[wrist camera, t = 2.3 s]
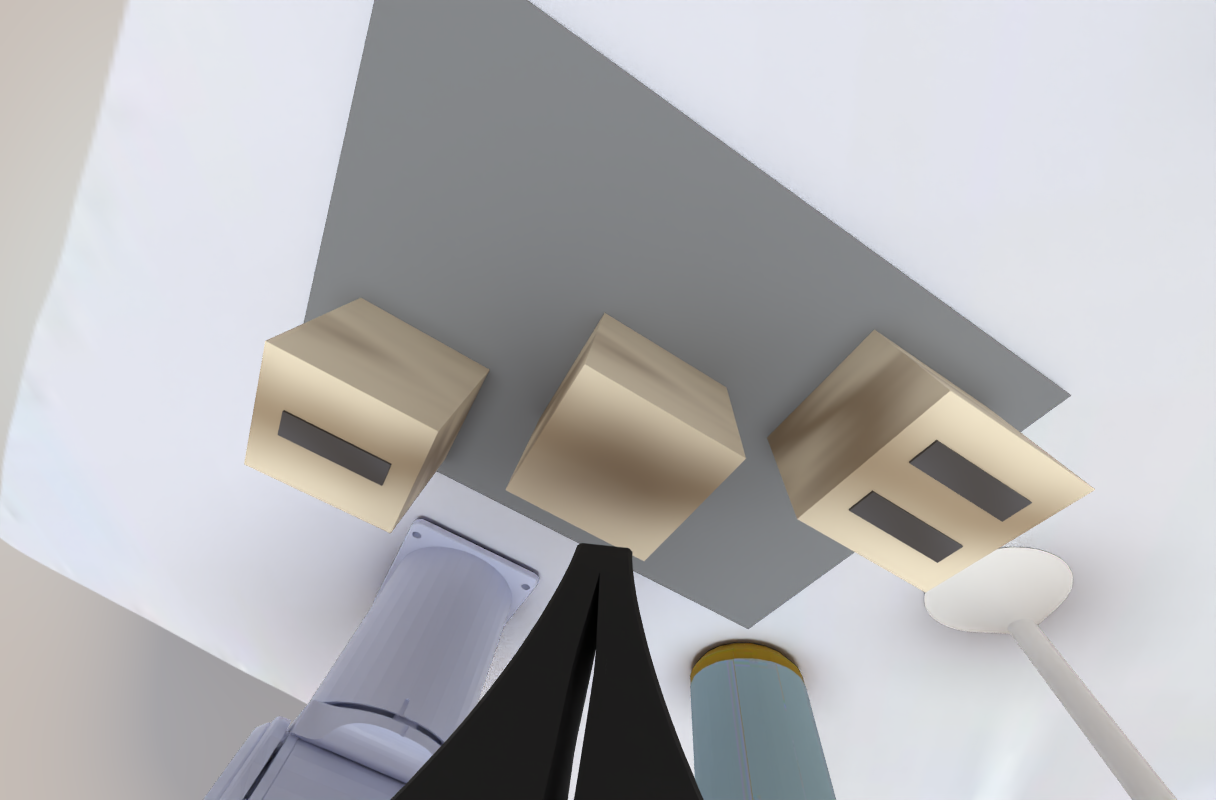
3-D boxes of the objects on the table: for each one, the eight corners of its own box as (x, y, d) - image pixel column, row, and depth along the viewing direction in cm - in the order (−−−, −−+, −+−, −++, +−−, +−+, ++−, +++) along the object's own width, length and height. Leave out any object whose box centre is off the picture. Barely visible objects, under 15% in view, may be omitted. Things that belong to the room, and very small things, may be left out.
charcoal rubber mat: (747, 622, 26) (748, 629, 26) (293, 391, 21) (287, 395, 21) (1062, 390, 17) (1071, 395, 17) (402, -89, 13) (395, -97, 12)
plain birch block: (648, 478, 21) (644, 561, 17) (539, 418, 20) (505, 490, 16) (726, 387, 18) (746, 458, 14) (604, 312, 17) (584, 364, 13)
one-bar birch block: (444, 459, 22) (389, 534, 17) (331, 401, 21) (242, 465, 17) (489, 369, 19) (437, 432, 15) (360, 297, 18) (263, 341, 14)
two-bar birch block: (869, 499, 20) (927, 594, 16) (766, 437, 19) (797, 520, 15) (987, 406, 17) (1097, 491, 13) (874, 329, 16) (952, 392, 12)
